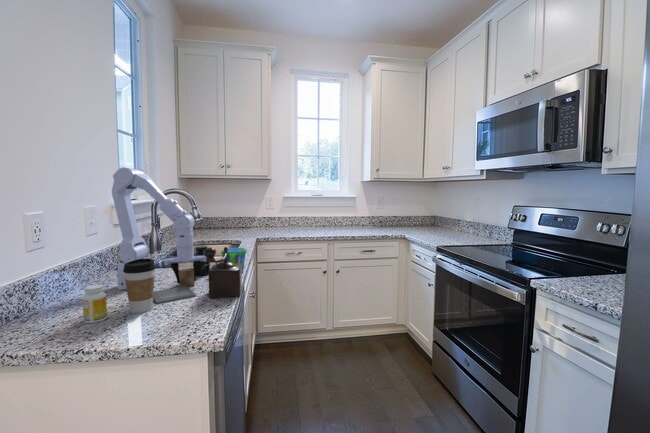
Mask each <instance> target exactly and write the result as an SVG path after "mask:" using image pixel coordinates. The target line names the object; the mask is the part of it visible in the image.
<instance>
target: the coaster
mask: <svg viewBox="0 0 650 433" xmlns="http://www.w3.org/2000/svg"><path fill="white" fill-rule="evenodd" d="M194 297H197V294H196V293H195V292H194V291H193V290H192V289H191V288H190V287H188V286H183V287H180V286H177V287H173V288H167V289H161V290H156V291H154V290H153V301H155V303H156V304H157V305H159V304H164V303H169V302H174V301H178V300H184V299H190V298H194Z"/></svg>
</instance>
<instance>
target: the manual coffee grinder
mask: <svg viewBox="0 0 650 433" xmlns="http://www.w3.org/2000/svg"><path fill="white" fill-rule="evenodd" d="M223 249H224V256H222V258H221V259H215V255H216V253H217V250H216V248H214V247H207V249H205V250H204V251H203V253H204V255H205V256H206V258H207V259H206V262H208V263H210V264H212V263H215V264H213V265H212V266H210V270H209V272H208V298H209V299H231V298H233V299H234V298H239V297H240V296H241V295H242V291H243V290H242V288H243V286H242V283H243V281H242V280H243V279H242V277H243V275H242V273H243V272H242V269H241V266H242V265H241V264H234V263H231V262H228V261H227V253H228V251H227V250H228V247H227V246H224V247H223Z"/></svg>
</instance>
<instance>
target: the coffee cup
mask: <svg viewBox="0 0 650 433" xmlns="http://www.w3.org/2000/svg"><path fill="white" fill-rule="evenodd" d="M155 269H156V265H155V262H154V259H153V258H150V257H149V258H147V257H146V258H144V259H137V260H134V261H130V262H127V263H125V264H124V269H123V272H124V273H125V277H126V278H125V283H126V288H127V289H126V295H127V300H128V307H129V312H130V313H133V314H141V313H146V312H150V311H151V310H152V309H153V306H154V302H153V301H154V298H153V292H154V287H155V286H154V285H155V273H154V272H155Z"/></svg>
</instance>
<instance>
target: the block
mask: <svg viewBox="0 0 650 433" xmlns="http://www.w3.org/2000/svg"><path fill="white" fill-rule="evenodd" d="M179 282H180V283H178V285H179V286H178V287H183V286H188V287H189V288H190V287H195V281H194V270H193V267H185V268H179Z"/></svg>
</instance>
